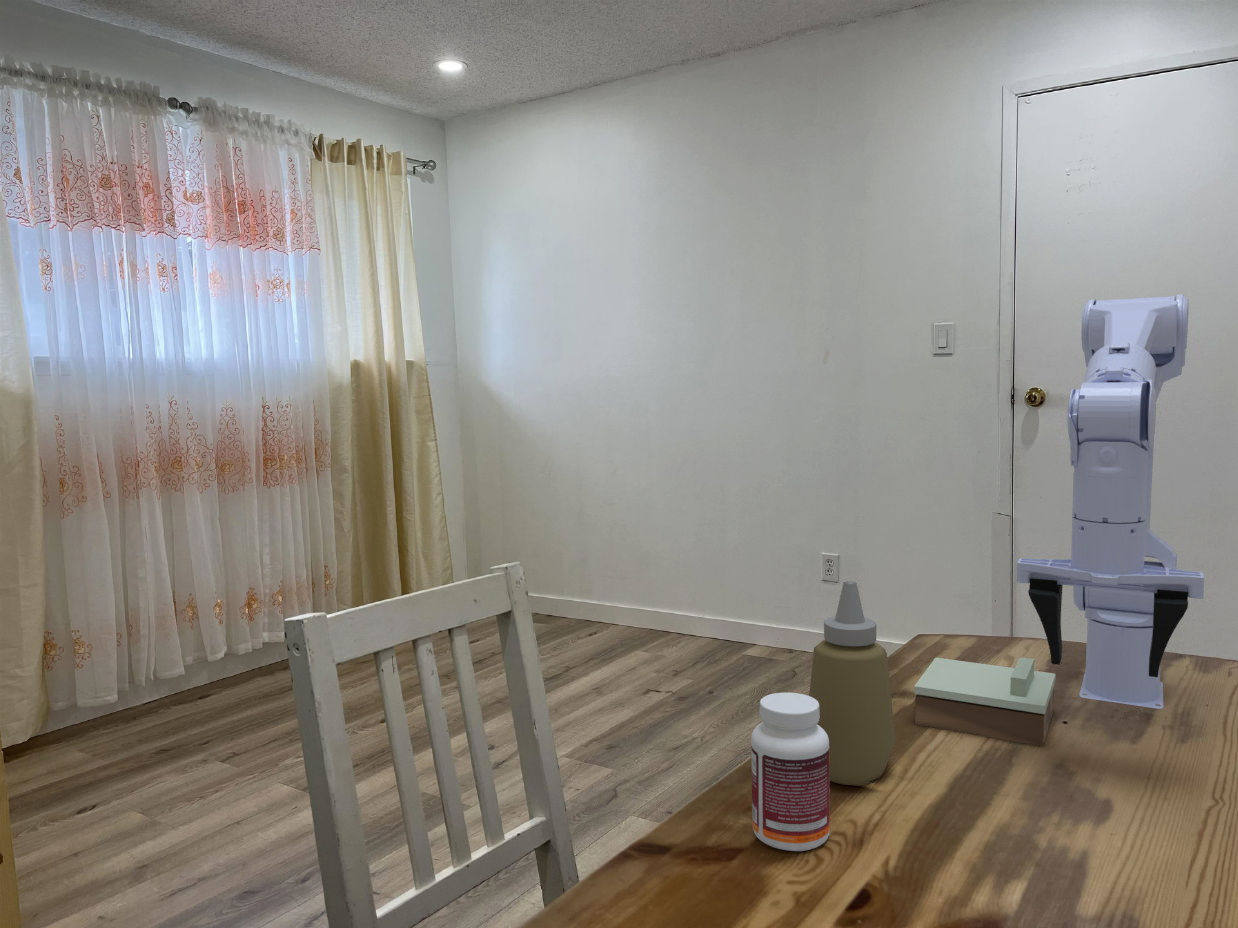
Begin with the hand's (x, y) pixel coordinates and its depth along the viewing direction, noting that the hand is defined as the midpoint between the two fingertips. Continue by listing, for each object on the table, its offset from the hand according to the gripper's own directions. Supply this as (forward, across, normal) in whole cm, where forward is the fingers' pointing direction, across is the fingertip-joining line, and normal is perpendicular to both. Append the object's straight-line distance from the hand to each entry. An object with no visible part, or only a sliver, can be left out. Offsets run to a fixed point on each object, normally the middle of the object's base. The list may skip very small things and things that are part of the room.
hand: (1103, 667), depth 82 cm
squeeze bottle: (+10, -20, -10) cm, 25 cm away
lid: (+6, -11, +8) cm, 15 cm away
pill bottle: (+10, -21, -23) cm, 33 cm away
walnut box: (+10, -11, +8) cm, 17 cm away
